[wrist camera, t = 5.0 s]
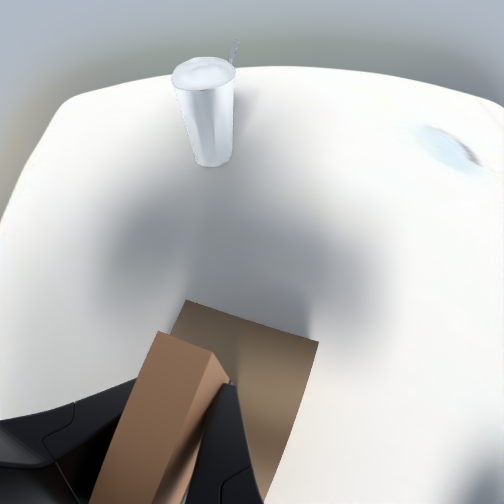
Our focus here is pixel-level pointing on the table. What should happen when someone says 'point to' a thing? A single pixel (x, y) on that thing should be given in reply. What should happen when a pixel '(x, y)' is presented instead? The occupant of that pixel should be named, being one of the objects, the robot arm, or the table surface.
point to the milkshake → (207, 106)
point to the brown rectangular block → (160, 426)
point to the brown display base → (254, 377)
